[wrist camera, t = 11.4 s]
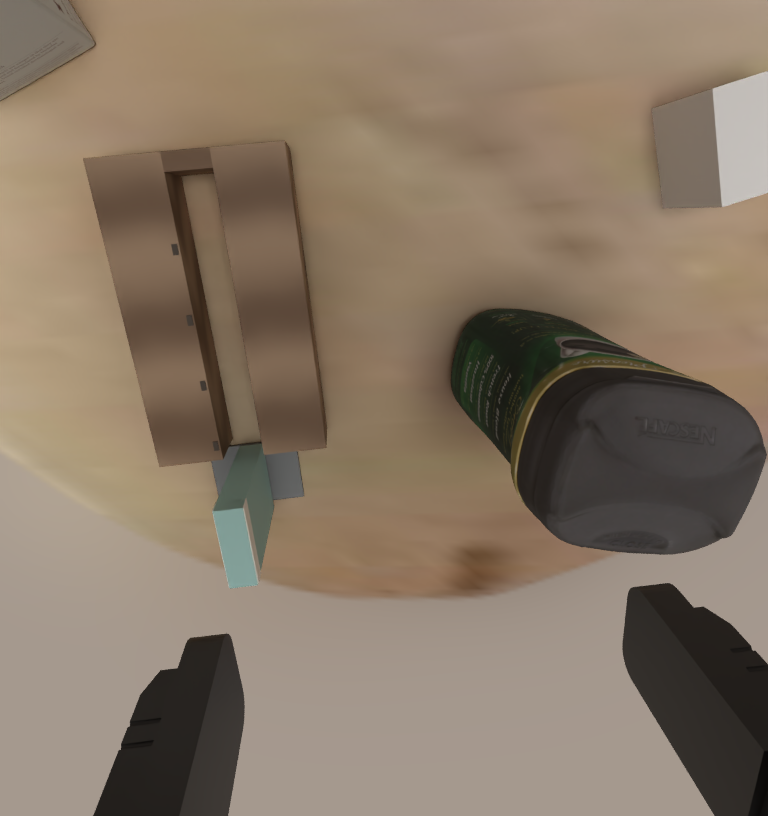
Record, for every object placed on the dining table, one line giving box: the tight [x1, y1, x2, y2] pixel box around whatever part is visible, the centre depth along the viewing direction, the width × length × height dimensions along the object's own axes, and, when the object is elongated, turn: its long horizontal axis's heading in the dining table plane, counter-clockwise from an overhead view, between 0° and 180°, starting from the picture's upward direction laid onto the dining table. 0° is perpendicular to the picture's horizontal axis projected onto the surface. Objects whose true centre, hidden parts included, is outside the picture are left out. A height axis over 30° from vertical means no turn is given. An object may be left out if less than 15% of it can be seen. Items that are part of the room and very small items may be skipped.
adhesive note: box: [652, 71, 768, 208], centre depth 32 cm, size 6×6×6 cm
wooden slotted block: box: [83, 141, 327, 467], centre depth 34 cm, size 18×11×4 cm, turn 5°
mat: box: [211, 442, 304, 500], centre depth 40 cm, size 4×6×1 cm
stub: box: [212, 444, 274, 588], centre depth 35 cm, size 5×2×9 cm, turn 5°
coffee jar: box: [451, 309, 767, 555], centre depth 30 cm, size 10×8×19 cm
